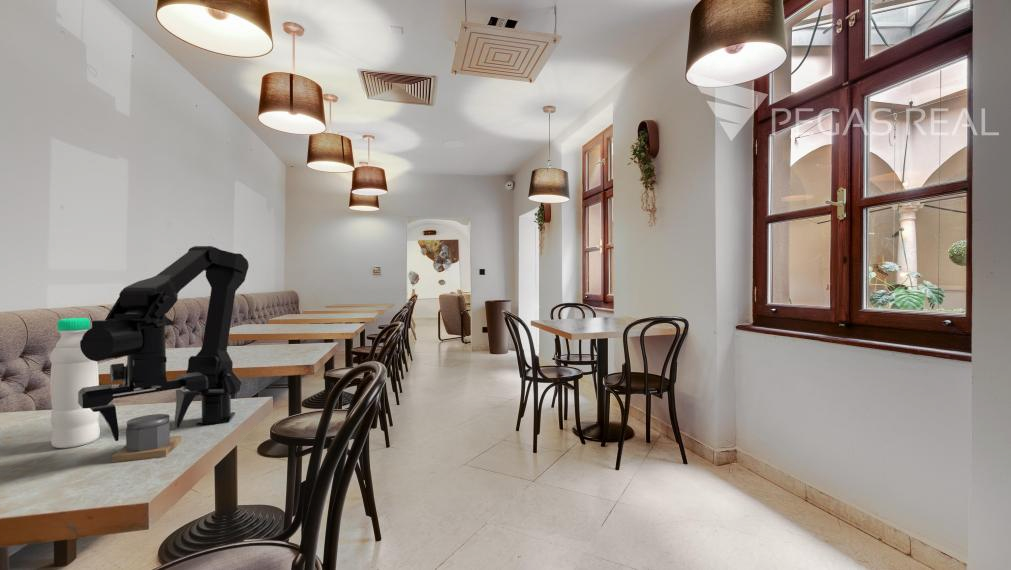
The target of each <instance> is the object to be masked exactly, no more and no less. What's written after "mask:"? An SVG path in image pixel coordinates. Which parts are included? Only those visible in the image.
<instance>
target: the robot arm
mask: <svg viewBox="0 0 1011 570" xmlns="http://www.w3.org/2000/svg"><path fill="white" fill-rule="evenodd" d="M248 270H249V261H248V259H247V258H245V256H244V255H243V254H241V253H235V252H230V251H227V250H223V249H220V248H218V247H215V246H212V245H194V246H192V247H190V248H189V249H188V250H187V252H186V253H184V254H183V255H182V256H180V257H179V258H178V259H176V260H175V261H174V262H173V263H171V264H170V265H169V266H167V267H166V268H164V269H163V270H162V271H160V272H159V273H158V274H156V275H154V276H152V277H150V278H145V279H142V280H137V281H136V282H133V283H132V284H129V285H127V286H125V287H123V289H122V290H121V291H120V292H119V294H118V295H119V297H118V298H117V300H116V301H115V303H114V305H113V306H112V307H111V309H110V311H109V312H108V313H107V316H106V317H105V318H104V319H101V320H100V319H97V320H92V322H91V326H92V327H90V329H89V330H88V331H87V332H86V333H85V334H84V335H83V337H82V340H81V341H80V347H81V351H82V353H83V354H84V356H86V357H87V358H88V359H90V360H92V361H97V362H101V361H107V360H112V359H118V358H121V357H126V358H127V360H126V366H125V363H122V362H121V363H112V364H110V366H109V376H110V377H109V379H110V382H111V383H115V382H116V383H117V382H122V384H123V385H122V386H120V387H114V388H113V387H111V386H110V385H109V384H101V385H100V384H99V386H91V387H84V388H82V389H81V390H80V391H79V392H78V404H79V405H80V406H81V407H82V408H90V409H91V410H92V411H93V412H98V411H99V414H101V416H102V417H103V419H104V421H105V422H106V424H107V426H108V429H109V431H110V433H111V435H112V438H113V439H114V442H118V441H119V437H120V435H119V434H120V431H119V425H118V416H117V409H116V405H115V404H113V403H112V401H114V399H119V398H127V397H131V396H132V397H133V396H139V395H140V396H141V395H145V394H151V393H158V392H164V391H165V392H166V391H171V390H175V395H176V396H175V397H176V400H175V401H176V402H175V412H174V413H175V414H174V427H175V429H179V428H180V426H181V425H182V422H183V420H184V417H185V415H186V413H187V411H188V409H189V407H190V406H191V404H192V402H193V400H194V399H195V397H196V396H200V397H201V417H200V418H199V420H198V421H196V425H198V426H199V425H208V424H218V423H220V424H221V423H229V422H230V421H231V420H232V419H233V418H234V417H235V415H236V412H232V410H231V409H232V407H231V406H232V404H231V403H232V402H231V401H232V400H231V399H232V398H231V395H236V394H238V392H240V391H241V385H242V381H241V380H240V379H239V377H238V376H237V375H236V374H235V373H234V371H233V366H234V365H233V360H232V358H231V357H230V354H229V353H228V344H229V337H230V332H231V331H230V330H231V324H232V317H233V310H234V306H235V305H234V303H235V298H236V291H237V290H238V289H239V288H240V287H241V286H242V285H243V283H244V282H245V280H246V277H247V274H248ZM204 271H205V278H206V280H207V282H208V284H209V286H210V288H211V289H210V296H209V300H208V301H209V302H208V308H207V313H206V320H205V326H204V332H203V338H202V343H201V349H200V350H199V352H197V353H196V355H190V356H189V358H188V360H187V361H188V363H187V369H186V372H185V373H181V374H177V377H176V379H169V380H168V379H167V355H166V327H168V326H169V327H170V326H174V321H173V320H172V319H171V318H169V317H168V316H167V314H168V313H169V311H171V310H172V308H173V307H174V305H175V304H177V301H178V298H179V297H178V296H179V295H178V294H179V292H180V291H181V290H183V289H184V288H185V287H186V286H187V285H189V283H190V282H192V281H193V280H195V279H196V278H197V277H198V276H199V275H200V274H202V273H203V272H204Z"/></svg>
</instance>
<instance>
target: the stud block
mask: <svg viewBox="0 0 1011 570" xmlns="http://www.w3.org/2000/svg"><path fill="white" fill-rule="evenodd" d="M181 442H182V437H181V435H179V436H177V435H176V436H170V444H167V445H165V446H163V447H160V448H158V449H153V450H147V451H141V452H132V451H126V445H124V447H122V448H121V449H119V450H118V451H117V452H116V453H115V454H113V455H112V463H120V462H129V461H137V460H139V461H140V460H147V459H155V458H164V457H167V456H168V455H169V454H170V453H171V452H173V450H174V449H176V447H177V446H178V445H179V444H181Z"/></svg>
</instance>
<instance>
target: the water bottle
mask: <svg viewBox="0 0 1011 570" xmlns="http://www.w3.org/2000/svg"><path fill="white" fill-rule="evenodd" d="M56 324H57V331H58V333H59V334H60V338H59V340H58V341H57V342H56V344H55V347H54V349H52V352H51V353H50V355H49V361H50V363H51V367H50V403H51V407H52V410H51V414H50V422H51V426H52V427H51V428H52V429H51V436H50V437H51V438H50V439H51V441H50V443H51V446H52V447H54V448H56V449H69V448H75V447H76V448H77V447H80V446H84V445H88V444H91V443H93V442H95V441H97V440H98V439H99V437H100V436H101V431H100V430H101V429H100V422H99V418H100V411H98V412H93V411H92V410H91V409H90V408H82V407H81V406H80V405H79V404H78V392H79V391H80V390H81V389H82V388H84V387H91V386H99V385H100V383H99V381H100V379H99V364H98V361H92V360H90V359H88V358H87V357H86V356H84V354H83V353H82V351H81V347H80V341H81V340H82V337H83V335H84V334H85V333H86V332H87V331H88V330H89V329H91V320H90V319H89V318H87V317H71V318H70V317H69V318H62V319H58V321H57V323H56Z"/></svg>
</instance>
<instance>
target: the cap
mask: <svg viewBox="0 0 1011 570" xmlns="http://www.w3.org/2000/svg"><path fill="white" fill-rule="evenodd" d="M170 424H171V423H170V415H169V414H167V413H156V414H154V413H153V414H147V415H142V416H138V417H134V418H131V419H129V420H127V421H126V429H125V433H126V434H125V436H126V437H125V442H126V443H125V444H126V445H125V446H126V451H132V452H141V451H147V450H153V449H158V448H160V447H163V446H165V445H167V444H170V437H171V435H170V434H171V429H170V428H171V427H170Z"/></svg>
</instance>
